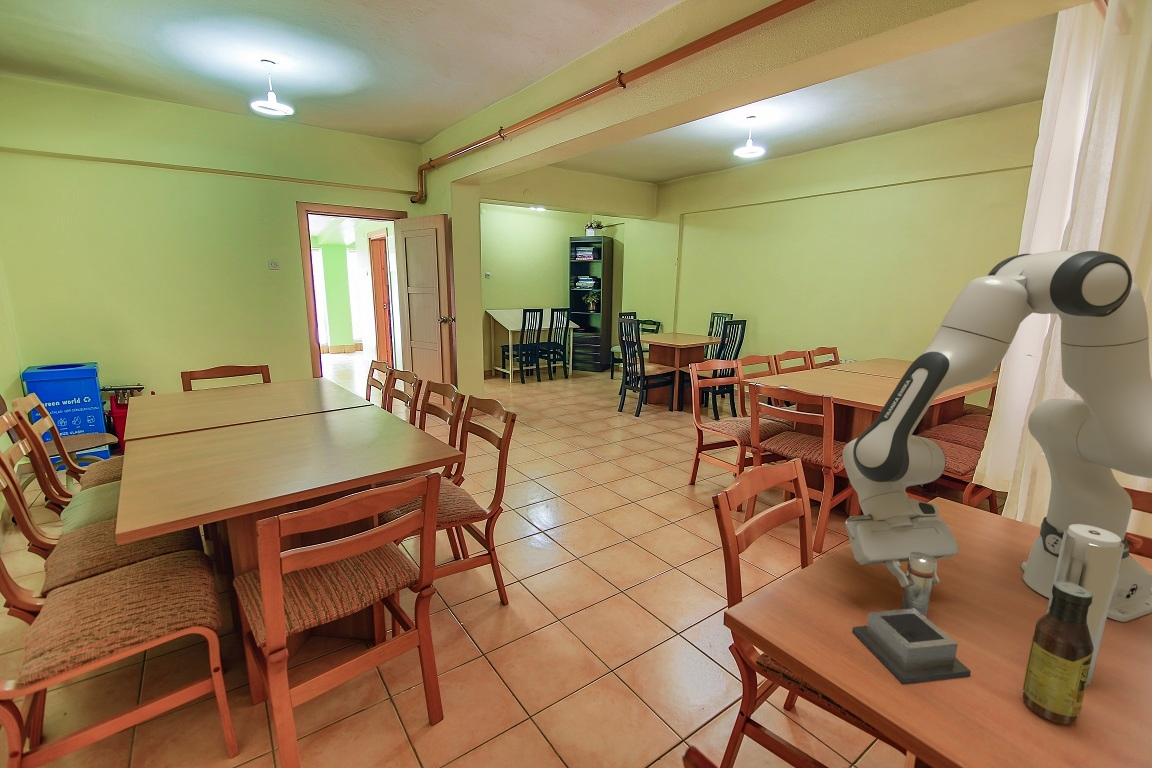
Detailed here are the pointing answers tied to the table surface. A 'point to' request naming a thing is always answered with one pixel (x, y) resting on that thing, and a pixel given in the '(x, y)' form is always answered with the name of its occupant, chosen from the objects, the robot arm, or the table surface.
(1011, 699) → the table surface
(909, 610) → the collar
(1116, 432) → the robot arm
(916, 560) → the cylinder
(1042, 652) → the sauce bottle
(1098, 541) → the silver piece
